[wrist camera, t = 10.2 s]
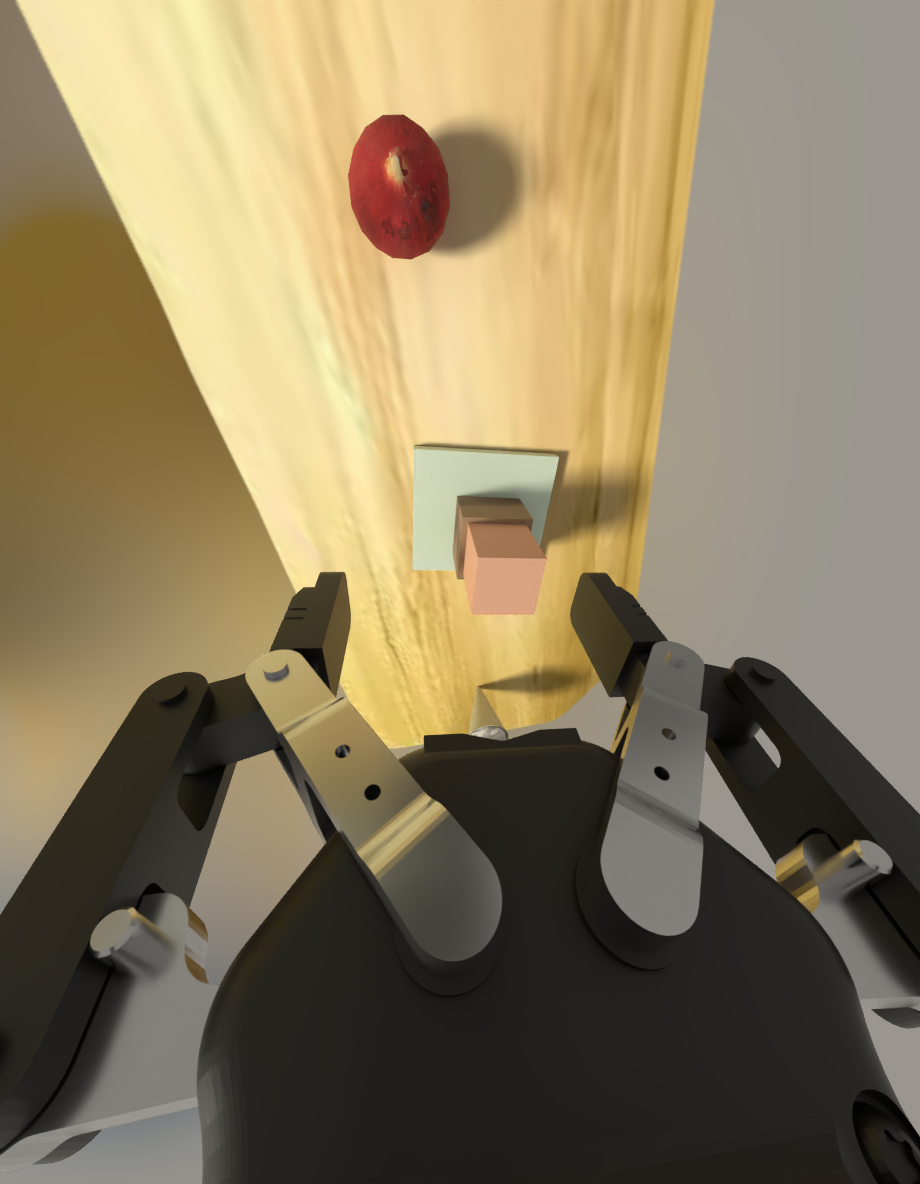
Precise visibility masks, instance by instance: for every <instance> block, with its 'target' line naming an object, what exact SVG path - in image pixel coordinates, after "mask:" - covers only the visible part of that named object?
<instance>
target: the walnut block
mask: <svg viewBox="0 0 920 1184" xmlns="http://www.w3.org/2000/svg"><path fill="white" fill-rule="evenodd" d="M468 523H486V524H520V525H527V527H528V528H529V530H530V532H531V529H532V524H533V518H532V517H531V515H530V514H529V512H528V511H527V509H526V508H525V506H524V504H523V503H522V501H521V500H520V499H517V498H493V497H468V496H457V501H456V515H455V528H454V541H453V558H454V564H455V570H456V575H457V579H464V576H463V571H464V560H465V550H466V539H467V528H468Z"/></svg>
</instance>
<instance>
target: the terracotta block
mask: <svg viewBox="0 0 920 1184" xmlns="http://www.w3.org/2000/svg"><path fill="white" fill-rule="evenodd" d="M546 560H547V558H546V557H545V555H544V553H543V552H542V550H541V548H540V547H539V545H538V543H537V542H536V540H535V538H534V537H533V535H532V533H531V532H530V530H529V528H528V527H527V525H520V524H486V523H468V528H467V539H466V550H465V560H464V571H463V576H464V581H465V586H466V591H467V595H468V600H469V605H470V610H471V615H534V613H535V609H536V604H537V600H538V595H539V591H540V586H541V582H542V578H543V573H544V569H545V564H546Z"/></svg>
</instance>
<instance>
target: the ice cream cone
mask: <svg viewBox="0 0 920 1184" xmlns="http://www.w3.org/2000/svg"><path fill="white" fill-rule="evenodd" d="M469 735H473V736H479V737H484V738H490V739H495V740H501V741H504V740H508V737H509V734H508V732H507V731H506V730H505V729H504V727H503V725H502V724H501V722H500V720H499V718H498V717H497V715H496V713H495V712H494V710H493V708H492V707H491V705H490V703H489V701H488V700H487V698H486V696H485V695H484V693H483V691H482V690H481V688H480V687H479V686H478V687H476V693H475V699H474V705H473V711H472V717H471V723H470V729H469Z"/></svg>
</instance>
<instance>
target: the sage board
mask: <svg viewBox="0 0 920 1184" xmlns="http://www.w3.org/2000/svg"><path fill="white" fill-rule="evenodd" d="M558 460H559V456H557V455H556V454H552V453H535V452H517V451H499V450H482V449H464V448H446V447H429V446H414V494H413V570H455V564H454V558H453V541H454V528H455V515H456V501H457V496H468V497H493V498H517V499H520V500H521V501H522V503H523V504H524V506H525V508H526V509H527V511H528V512H529V514H530V515H531V517H532V518H533V524H532V529H531V533H532V535H533V537H534V538H535V540H536V542H537V543H538V545H539V547H540V545H541V540H542V536H543V531H544V526H545V521H546V517H547V512H548V507H549V503H550V498H551V493H552V489H553V484H554V479H555V475H556V470H557V465H558Z"/></svg>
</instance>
